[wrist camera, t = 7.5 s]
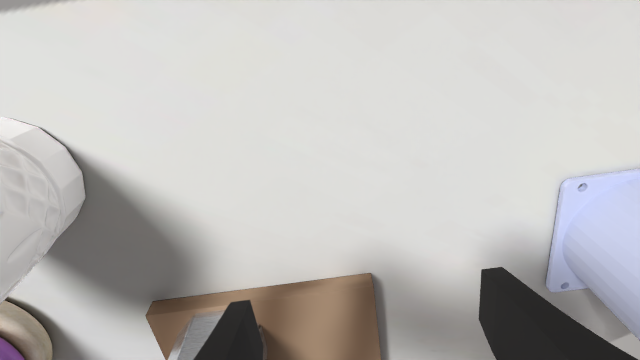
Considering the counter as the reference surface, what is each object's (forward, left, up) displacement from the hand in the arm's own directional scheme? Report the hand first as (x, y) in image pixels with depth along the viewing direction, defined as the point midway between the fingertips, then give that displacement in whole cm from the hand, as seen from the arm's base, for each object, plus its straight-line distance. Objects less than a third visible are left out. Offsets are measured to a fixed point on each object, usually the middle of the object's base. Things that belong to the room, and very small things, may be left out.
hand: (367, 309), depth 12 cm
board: (+6, +13, -10) cm, 17 cm away
